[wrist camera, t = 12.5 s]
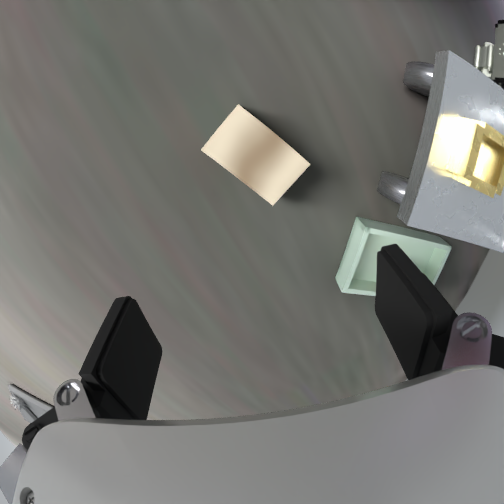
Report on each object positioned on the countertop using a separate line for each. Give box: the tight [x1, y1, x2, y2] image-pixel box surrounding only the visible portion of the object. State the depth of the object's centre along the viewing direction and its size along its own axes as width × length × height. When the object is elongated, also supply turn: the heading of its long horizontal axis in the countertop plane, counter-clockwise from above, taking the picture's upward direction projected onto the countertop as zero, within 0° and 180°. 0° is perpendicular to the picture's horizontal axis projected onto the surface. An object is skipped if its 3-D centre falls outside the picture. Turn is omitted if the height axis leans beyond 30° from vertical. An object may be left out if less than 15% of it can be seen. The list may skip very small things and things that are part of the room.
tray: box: [335, 216, 452, 296], centre depth 32 cm, size 13×8×3 cm, turn 80°
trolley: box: [377, 50, 504, 253], centre depth 18 cm, size 17×16×21 cm
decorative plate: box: [8, 384, 54, 423], centre depth 54 cm, size 30×22×7 cm
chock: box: [201, 105, 310, 205], centre depth 26 cm, size 8×5×4 cm, turn 50°
